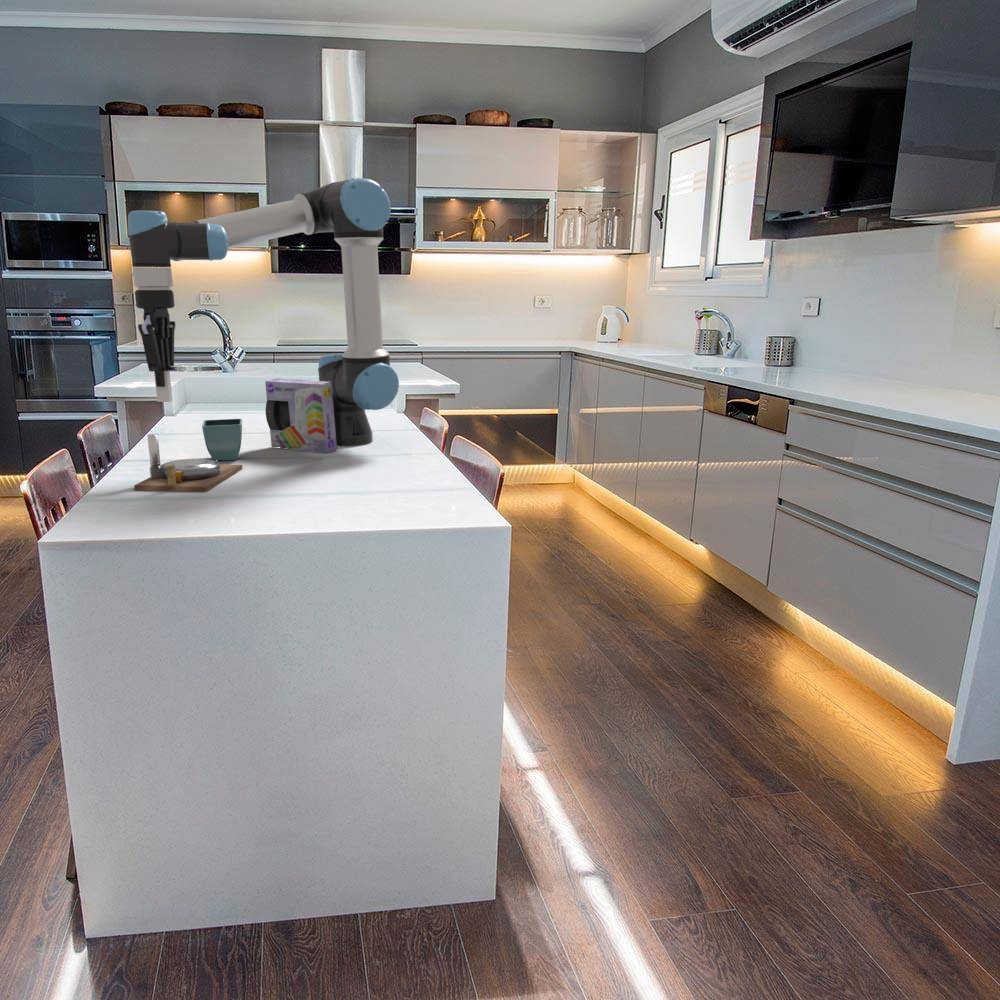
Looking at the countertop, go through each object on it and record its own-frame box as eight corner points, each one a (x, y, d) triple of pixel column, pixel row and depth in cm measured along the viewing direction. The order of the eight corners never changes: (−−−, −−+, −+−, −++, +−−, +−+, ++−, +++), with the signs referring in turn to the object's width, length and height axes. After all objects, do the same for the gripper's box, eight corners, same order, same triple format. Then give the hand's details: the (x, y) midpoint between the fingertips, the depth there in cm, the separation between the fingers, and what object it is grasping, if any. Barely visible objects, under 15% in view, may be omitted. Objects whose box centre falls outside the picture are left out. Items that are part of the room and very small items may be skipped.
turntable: (213, 465, 190) (210, 425, 188) (226, 477, 180) (223, 435, 177) (146, 471, 184) (142, 430, 181) (156, 484, 173) (151, 441, 170)
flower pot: (204, 463, 198) (201, 425, 196) (206, 456, 206) (203, 419, 204) (243, 462, 200) (241, 424, 198) (244, 454, 208) (242, 418, 206)
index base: (242, 469, 193) (241, 447, 191) (206, 491, 172) (204, 467, 171) (178, 467, 193) (176, 446, 192) (134, 490, 173) (132, 466, 172)
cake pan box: (266, 447, 217) (262, 378, 213) (279, 444, 221) (275, 376, 217) (325, 455, 208) (322, 383, 204) (338, 451, 213) (335, 381, 208)
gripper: (150, 288, 183) (161, 396, 189) (121, 289, 170) (133, 405, 176) (184, 288, 183) (193, 397, 189) (157, 289, 170) (169, 406, 176)
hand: (164, 401), depth 183 cm, fingers closed
